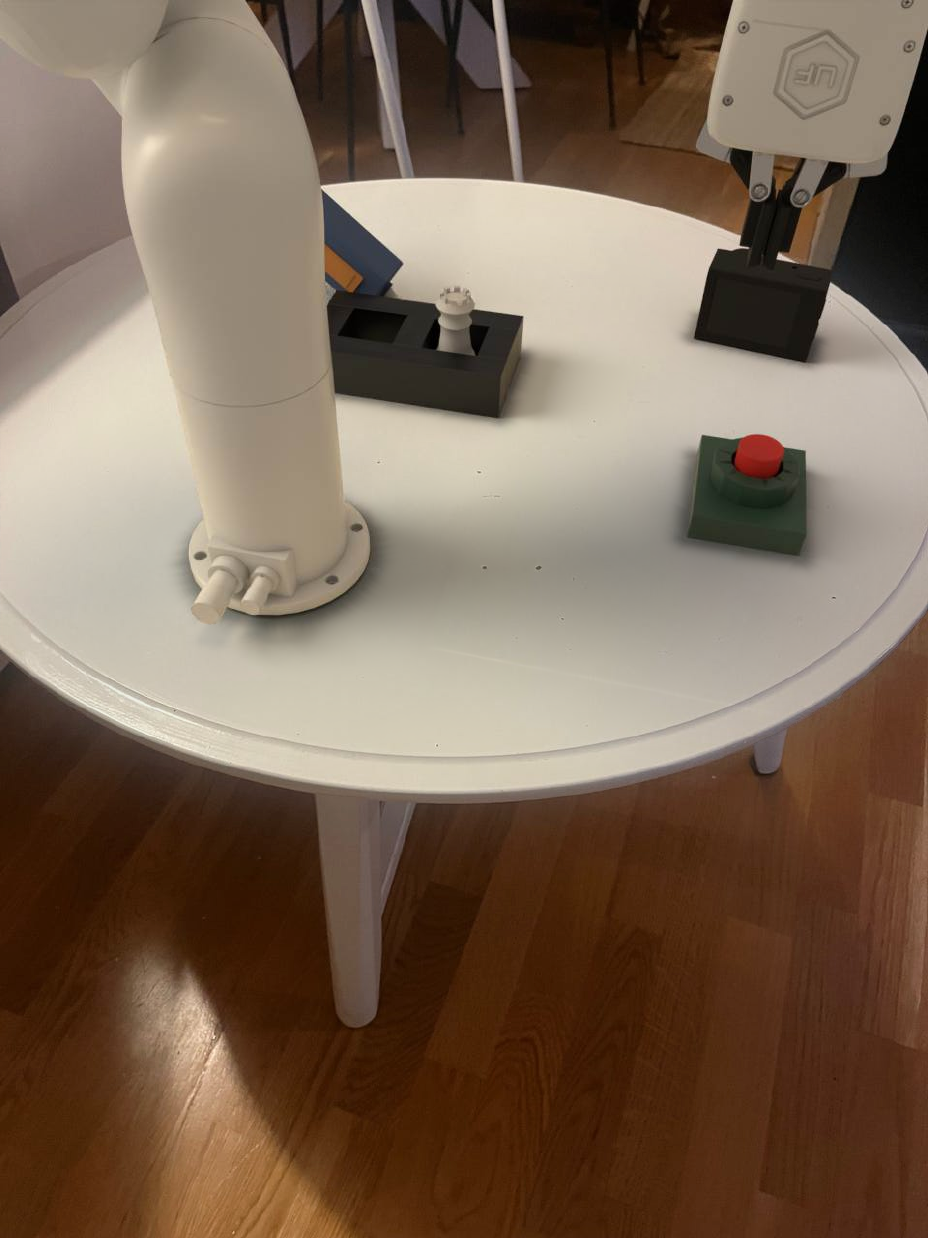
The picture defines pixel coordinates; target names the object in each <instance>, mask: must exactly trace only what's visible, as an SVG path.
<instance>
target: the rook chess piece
mask: <svg viewBox="0 0 928 1238" xmlns="http://www.w3.org/2000/svg"><path fill="white" fill-rule="evenodd" d="M434 304H435V305H436V307H437V309H438V310H439V311H440V313H441V316H440V317H439V320H438V322H439V324H440V325H441V332H440V339H439V345H438V348H437V349H436V350H439V351H446V352H453V353H459V354H466V355H473V356H476V355H475V352H474V350H473V349H472V347H471V342H470V334H469V326H470V325H471V323H472V320H471V318H470V316H469V313H470V312H471V311H472V310H473V309H475V306H476V303H475V301H474V299H473V298H472V292H470V289H469V288H467V287H464V288H463V289H462V291H461V286H460V285H454V286H453V290H451V287H450V286H449V285H448V286H446V287H443V290H440V292H439V297H438V298H437V299H436V301H435V303H434Z"/></svg>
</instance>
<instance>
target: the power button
mask: <svg viewBox="0 0 928 1238" xmlns="http://www.w3.org/2000/svg"><path fill="white" fill-rule="evenodd" d="M743 437H744V438H743ZM743 437H741V438H742V439H741V441H740V443H739V446H738V450H737V453H736V457H735V460H734V465H735V468H736V469H737V470H738V471H739V472H741V473H743V474H745V475H747V476H749V477H753V478H760V479H767V478H772V477H774V476H775V475H776V474H777V473H778V470H779V467H780V464H781V461H782V458H783V454H784V448H783V447H784V446H783V444H782V443H781V442H780V441H779V440H777V438H774V437H772V436H769V435H766V434H759V433H753V434H748V435H745V436H743Z"/></svg>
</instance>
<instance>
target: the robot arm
mask: <svg viewBox="0 0 928 1238" xmlns="http://www.w3.org/2000/svg"><path fill="white" fill-rule="evenodd" d="M263 27H264V26H262V24H261V23H260V21H259V20H258V18H257V16H256V14H254V12H253V10H252V9H251V7H250V5H249V3H247V1H246V0H0V40H2V41H3V42H4V43H6V45H8V46H9V47H10V48H11V49H12V50H14V51H15V52H16V53H17V54H18V55H19V56H21V57H22V58H23V59H25V60H27V61H29V62H31V63H33V64H34V65H35V66H37V67H39V68H41V69H43V70H44V71H47V72H49V73H52V74H55V75H58V76H61V77H66V78H69V79H77V80H91V81H92V82H93V83H94V85H96V87H97V88H98V89H99V90H100V92H101V93H102V95H104V97H105V98H106V99H107V101H108V102H109V103H110V104H111V105H112V107H113V109H115V110H116V112H117V113H118V115H119V116H120V117H121V144H120V160H121V161H120V162H121V163H120V164H121V178H122V179H121V180H122V188H123V196H124V203H125V209H126V213H127V219H128V223H129V228H130V230H131V234H132V238H133V242H134V245H135V249H136V252H137V255H138V256H137V257H138V259H139V261H140V265H141V269H142V271H143V275H144V278H145V282H146V285H147V288H148V291H149V295H150V298H151V303H152V307H153V310H154V313H155V314H154V315H155V318H156V322H157V326H158V330H159V335H160V340H161V344H162V348H163V352H164V356H165V359H166V365H167V370H168V373H169V377H170V379H171V381H172V387H173V390H174V394H175V400H176V404H177V408H178V412H179V417H180V421H181V425H182V429H183V434H184V439H185V444H186V447H187V451H188V456H189V460H190V461H189V462H190V466H191V469H192V474H193V478H194V482H195V487H196V491H197V497H198V501H199V504H200V508H201V512H202V516H203V518H202V520H200V522H198V525H197V526H196V528H195V529H194V531H193V533H192V536H191V538H190V541H189V545H188V559H189V565H190V569H191V573H192V574H193V575H192V576H193V577H194V580H195V582H196V583H197V585H198V586H199V588H200V589H201V591H200V592H199V594H198V595H197V597H196V599H195V601H194V602H193V604H192V606H191V608H190V609H191V613H192V615H193V616H194V617H195V618H196V620H198V621H200V622H201V623H204V624H207V625H216V624H217V623H219V622H221V619H222V617H223V615H224V614H225V612H226V610H227V608H229V609H232V610H235V611H238V612H241V613H245V614H247V615H250V616H283V615H291V614H297V613H301V612H304V611H309V610H313V609H316V608H318V607H320V606H324V605H326V604H327V603H330V602H332V601H333V600H335V599H337V598H338V597H340V596H341V595H343V594H344V593H346V592H347V591H348V590H349V589H350V588H352V587H353V585H355V584H356V583H357V582H358V580H359V579H360V577H361V576H362V575H363V573H364V572H365V570H366V567H367V565H368V562H369V561H370V560H369V559H370V555H371V554H370V553H371V540H370V539H371V536H370V532H369V527H368V525H367V524H368V523H367V522H366V521H365V519H364V517H363V516H362V514H361V513H360V511H358V509H356V508H355V506H353V505H352V504H351V503H349V502H348V501H346V500H345V494H344V483H343V474H342V473H343V471H342V462H341V461H342V460H341V450H340V439H339V438H340V437H339V429H338V428H339V427H338V414H337V403H336V393H335V390H334V378H333V367H332V357H331V351H330V339H329V327H328V316H327V304H328V302H327V290H326V282H325V267H324V217H323V202H322V192H321V189H322V184H321V179H320V173H319V168H318V164H317V159H316V154H315V151H314V147H313V143H312V139H311V136H310V132H309V129H308V127H307V123H306V120H305V117H304V115H303V111H302V108H301V106H300V103H299V100H298V97H297V94H296V90H295V87H294V85H293V83H292V80H291V77H290V74H289V72H288V70H287V68H286V65H285V63H284V61H283V59H282V57H281V56H280V54H279V51H278V50H277V48H276V47H275V45H274V43H273V42H272V40H271V38H270V37H269V36H268V34H267V32H266V30H265V29H264V28H263ZM927 32H928V0H732V4H731V6H730V11H729V15H728V19H727V22H726V26H725V30H724V33H723V38H722V42H721V47H720V51H719V54H718V58H717V63H716V67H715V71H714V76H713V78H712V79H713V80H712V85H711V90H710V95H709V101H708V107H707V113H706V115H705V118H704V120H703V121H702V124H701V126H700V128H699V130H698V133H697V137H696V142H695V148H696V150H697V152H700V153H701V154H704V155H706V156H708V157H711V158H714V159H715V160H718V161H721V162H723V163H724V162H725V163H728V164H730V165H731V167H732V168H733V170H734V171H735V173H736V174H737V175H738V177H739V178H740V180H741V181H742V183H743V185H744V186H745V188H746V189H747V191H748V195H749V201H748V206H747V208H746V209H747V210H746V214H745V217H744V221H743V225H742V230H741V232H740V233H741V234H740V239H739V244H738V245H739V247H741V248H748V249H749V250H748V262H747V267H749V268H756V266H760V263H761V259H762V267H765V270H770V271H773V270H774V267H775V263H776V260H777V259H778V256H779V253H783V254H789V253H790V251H791V248H792V244H793V242H794V238H795V235H796V231H797V228H798V224H799V221H800V217H801V214H802V211H803V208H804V207H807V206H808V205H809V204H810V203H811V201H812V200H813V198H815V197H816V196H818V195H819V194H820V193H822V192H824V191H825V190H827V189H828V188H830V187H831V186H833V185H834V184H836V183H837V182H839V181H840V180H842V179H847V178H848V179H856V178H866V177H867V178H868V177H877V176H879V175H882V174H883V173H884V172H885V171H886V169H887V166H888V155H889V151H890V150H891V148H892V146H893V144H894V142H895V139H896V137H897V134H898V132H899V129H900V125H901V123H902V119H903V116H904V113H905V109H906V105H907V103H908V100H909V96H910V92H911V90H912V86H913V83H914V81H915V76H916V73H917V69H918V66H919V62H920V60H921V59H920V58H921V54H922V52H923V47H924V44H925V40H926V37H927ZM775 155H778V156H787V157H795V158H798V160H797V162H796V164H795V167H794V169H793V172H792V173H791V177H789V178H788V179H787V180H785V182H784V184H783V185H782V188H781V189H780V188H779V189H778V191H777V188H776V187H777V179H776V178H775V177H774V175H773V172H774V165H775Z"/></svg>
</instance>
